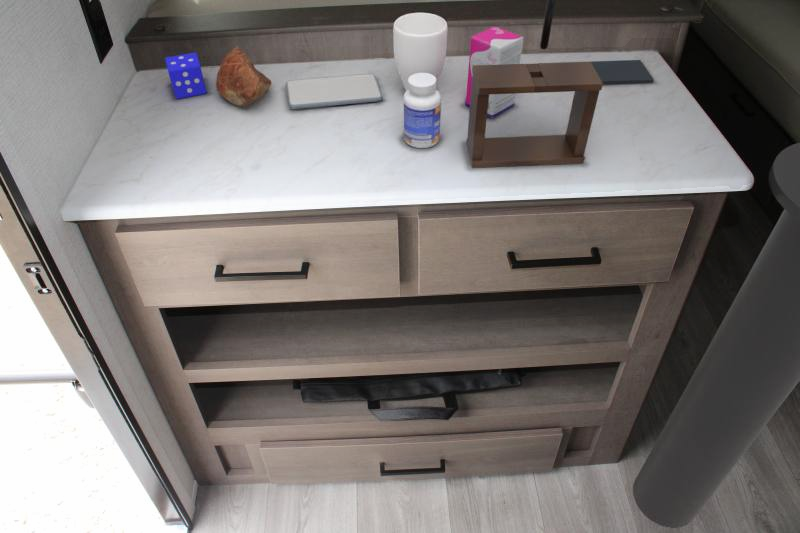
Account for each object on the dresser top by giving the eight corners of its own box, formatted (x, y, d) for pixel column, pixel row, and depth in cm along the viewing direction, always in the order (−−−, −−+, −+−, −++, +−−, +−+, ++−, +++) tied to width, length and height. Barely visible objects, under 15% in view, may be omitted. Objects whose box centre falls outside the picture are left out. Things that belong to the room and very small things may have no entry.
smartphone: (383, 97, 101) (288, 106, 99) (383, 102, 102) (289, 111, 100) (374, 72, 107) (285, 80, 105) (374, 77, 108) (286, 85, 105)
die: (207, 94, 104) (200, 65, 100) (176, 99, 103) (168, 71, 99) (202, 79, 107) (196, 52, 104) (172, 85, 106) (164, 57, 103)
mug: (447, 103, 102) (451, 34, 94) (396, 105, 101) (395, 36, 93) (438, 67, 110) (440, 1, 102) (390, 69, 110) (389, 3, 101)
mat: (639, 62, 111) (640, 59, 110) (653, 82, 106) (654, 79, 105) (549, 65, 110) (549, 62, 110) (558, 86, 105) (559, 82, 105)
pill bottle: (441, 148, 93) (444, 88, 86) (404, 150, 92) (404, 90, 85) (437, 128, 96) (440, 69, 90) (402, 129, 96) (402, 70, 89)
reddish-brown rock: (219, 53, 106) (233, 14, 98) (267, 70, 110) (285, 34, 102) (206, 115, 101) (220, 79, 93) (257, 131, 105) (275, 97, 97)
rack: (572, 139, 94) (590, 61, 85) (583, 163, 90) (603, 83, 81) (466, 144, 93) (472, 65, 85) (471, 168, 89) (479, 87, 80)
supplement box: (515, 105, 101) (525, 36, 93) (491, 119, 98) (499, 49, 90) (487, 92, 104) (494, 24, 96) (463, 105, 101) (469, 36, 93)
